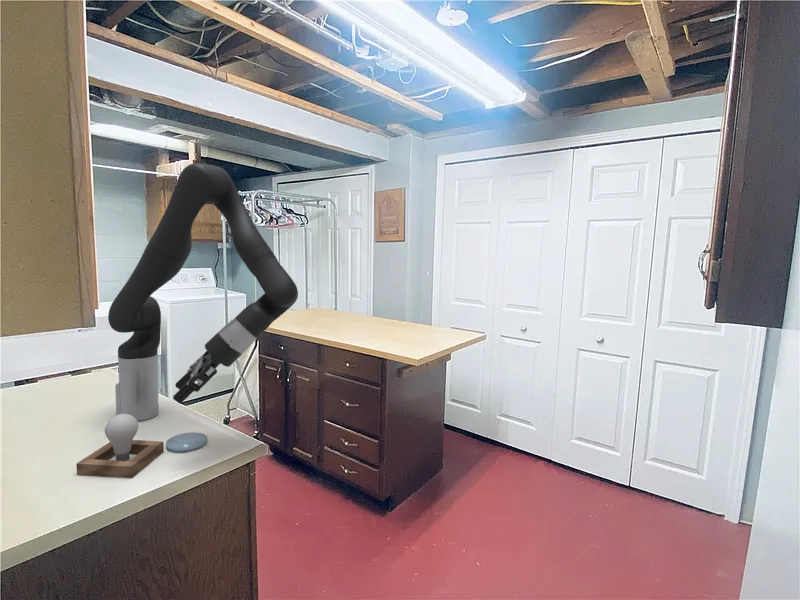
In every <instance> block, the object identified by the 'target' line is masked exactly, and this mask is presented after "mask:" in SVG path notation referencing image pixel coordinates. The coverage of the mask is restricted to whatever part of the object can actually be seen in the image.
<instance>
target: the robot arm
mask: <svg viewBox="0 0 800 600" xmlns="http://www.w3.org/2000/svg"><path fill="white" fill-rule="evenodd" d="M205 205H213V206H214V207H215V208H216V209H218V211H219V212H220V213H221V214H222V216H223V217H224V219H225V221H226V222H227V224H228V227H229V231H230V234H231V238H232V243H233V246H234V249H235V250H236V253H237V254H238V256H239V258H240V259H241V261H242V262H243V264H244V265H245V266H246V268H247V269H248V270H249V272H250V273H251V274H252V275H253V276H254V277H255V279H256V280H257V282H258V284H259V285H260V287H261V288H262V290H263V292H264V293H263V294H262V295H261V296H260V297H259V298H258V299H257V300H256V301H255V302H253V303H250V304H248V305H247V306H246V307H245V308H243V309H242V311H240V312H239V313H238V314H237V315H236V316H235V317H234V318H233V319H232V320H229V322H228V323H226V324H225V325H224V326H223V327H222V328H221V329H220V330H219V331H217V332H216V334H215V335H213V337H211V338H210V339H209V340H208V341H207V342H206V343H205V345H204V349H205V350H206V351H205V352H204V353H203V354H202V355H201V356H199V358H198V359H196V361H195V362H193V364H190V366H189V368H188V369H187V370H186V373H185V374H184V375H183V376H182V377H181V378H180V379H178V380H177V382H176V383H174V384H175V385H174V386H175V388H177V390H178V391H176V393H175V394H174V395H173V396H172V397H173V400H174V401H176V402H177V403H178V404H182V403H183V402H184V401H185V400H186V399H188V397H189V396H190V395H191V394H192V393H193V392H196V393H198V392H199V391H200V390H201V389H202V388H203V387H204V386H205V385H206V384H207V383H208V382H209V381H211V379H212V378H214V376H215V375H217V373H218V370H217V368H218V367H219V365H223V366H224V367H226V368H229V367H231V366H232V365H233V364H234V363H235V362H236V361H237V360H238V359H239V358H240V357H241V356H242V355H243V354H244V353H245V352H246V351H247V350H248V349H249V348H251V347H252V345H253V344H254V343H255V341H256V340H257V339H258V338H259V337H260V336H261V335H262V334H263V333H264V332H265V331H266V330H267V329H268V328H269V327H270V326H271V325H272V323H274V321H276V320H277V319H279V318H280V316H281V317H282V315H283V314H284V313H286V312H287V311H288V310H289V309H290V308H292V307H293V305H294V304H295V303H296V302H297V300H298V297H299V291H298V287H297V284H296V283H295V282H294V280H293V279H292V277H291V276H290V275H289V274H288V272H287V270H286V269H284V267H283V266H282V265H281V263H280V262H279V260H278V258H277V256H276V255H275V253H274V251H273V250H272V249H271V247H270V246H269V244H268V243H267V241H266V240H265V239H264V237H263V236H262V235H261V232H260V231H259V230H258V227H256V224H255V223H254V221H253V219H252V216H250V214H249V212H248V210H247V207H246V206H245V203H244V200H242V198H241V195H240V193H239V192H238V190H237V187H236V185H235V183H234V181H233V179H232V177H231V176H230V175H229V173H228V172H227V171H226V170H225V169H224V168H221V167H220V166H216V165H212V164H206V163H205V164H204V163H199V162H198V163H191V164H188V165H186V166H185V167H184V168H183V169H182V171H181V172H180V174H179V175H178V178H177V180H176V183H175V186H174V189H173V191H172V194H171V196H170V199H169V201H168V204H167V207H166V208H165V211H164V213H163V215H162V217H161V219H160V221H159V222H158V225H157V227H156V229H155V230H154V233H153V234H152V235H151V236H150V237H151V238H150V239H149V241H148V243H147V245H146V247H145V248H144V251H143V253H142V255H141V257H140V259H139V261H138V262H137V264H136V266H135V268H134V269H133V271H132V273H131V275H130V277H129V278H128V280H127V281H126V282H125V284H124V285H123V287H122V288H121V290H119V293H118V294H117V295H116V297H115V298H114V300H113V302H112V303H111V305H110V307H109V309H108V319H107V320H108V324H109V325H110V327H111V329H112V331H113V330H114V331H115V332H118V333H132V335H131V336H130V337H129V338H128V339H127V340H126V341H124V342H123V343H121V344H120V345H119V346H118V349H117V359H118V360H117V362H118V363H117V365H118V383H116V384H115V387H114V388H115V389H114V390H115V416H116V415H119V414H129V415H132V416H133V417H135V419H136V420H137V422H142V421H147V420H150V419H153V418H155V417H157V416H158V414H159V413H160V411H159V410H160V405H159V400H160V399H159V397H160V396H159V364H158V363H159V356H158V355H159V354H158V350H159V347H160V342H161V328H162V313H161V308H160V304H159V302H158V301H157V299H155V298H154V297H152V295H153V294H154V293H155V292H156V291H157V290H159V289H160V288H161V287H163V286H164V285H165V284H167V283H168V282H170V280H172V279H173V278H174V277H176V275H177V274H179V272H180V271H181V269H182V268H183V266H184V264H185V263H186V261H187V259H188V258H189V256H190V254H191V251H192V244H193V240H192V239H193V238H192V227H193V224H194V223H195V220H196V218H197V217H198V215H199V213H200V212H201V210H202V208H203V207H204V206H205ZM196 382H197V383H196Z"/></svg>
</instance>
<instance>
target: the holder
mask: <svg viewBox="0 0 800 600" xmlns="http://www.w3.org/2000/svg"><path fill="white" fill-rule="evenodd" d="M164 449H165V447H164V441H160V440H139V439H133V440H132V444H131V450H130V455H133V456H134V455H135V456H134V457H131V459H130V460H128V461H116V460H115V459H114V460H111V459H112V458H113V457H116V456H115V453H114V449H113V445H112V443H111V442H110V441H109V442H108V443H106V444H104V445H103V446H102V447H99V448H98V449H97V450H95V451H93V452H92V453H91V454H89V455H87V456H86V457H84V458H83V459H80V460H79V461H78V462H76V475H77V476H84V477H85V476H90V477H102V478H103V477H105V478H106V477H107V478H122V479H124V478H127V479H133V478H134V477H135V476H136V475H138V474H139V473H140V472H141V471H142V470H144V469H145V468H146V467H147V466H149V465H150V464H151V463H152V462H154V460H156V459H157V458H158V457H159V456H161V455H162V454H164V452H165V450H164Z"/></svg>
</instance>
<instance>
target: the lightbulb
mask: <svg viewBox="0 0 800 600" xmlns="http://www.w3.org/2000/svg"><path fill="white" fill-rule="evenodd" d="M138 422H139V421H137V420H136V419H135V417H133V416H132V415H129V414H119V415H116V414H115V416H112V417H111V418H110V419H109V420H108V421H107V423H106V424H105V427H104V434H105V436H106V438H107V440H108V441H109V442H111V443H112V445H113V449H114V453H115V456H114V457H115V461H129V459H130V457H131V454H130V450H131V444H132V440H134V438H135V437H136V435H137V433H138V430H139V423H138Z"/></svg>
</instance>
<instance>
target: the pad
mask: <svg viewBox="0 0 800 600" xmlns="http://www.w3.org/2000/svg"><path fill="white" fill-rule="evenodd" d="M207 443H208V436H207V434H205V433H202V432H197V431H196V432H195V431H190V432H184V433H179V434H175V435H173V436H171V437H170V438H168V439H167V440H166V441H165V449H166V451H168V452H170V453H173V454H174V453H175V454H186V453H192V452H195V451H198V450H200V449H203V448H204V447H205V446H206V445H207Z"/></svg>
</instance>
